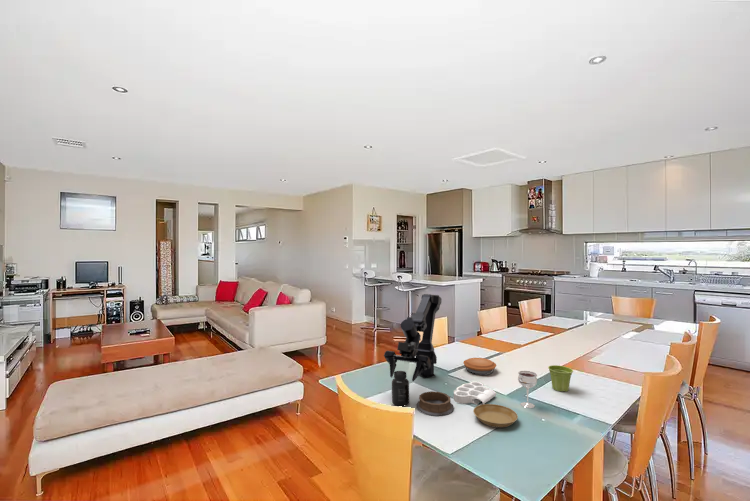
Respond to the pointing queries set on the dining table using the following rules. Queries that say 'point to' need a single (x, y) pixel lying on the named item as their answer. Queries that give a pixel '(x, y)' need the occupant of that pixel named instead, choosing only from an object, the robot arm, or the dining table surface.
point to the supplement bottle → (400, 389)
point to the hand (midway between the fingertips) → (401, 378)
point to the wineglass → (527, 384)
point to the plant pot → (560, 377)
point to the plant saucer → (495, 415)
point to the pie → (479, 365)
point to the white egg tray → (473, 393)
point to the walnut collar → (434, 404)
